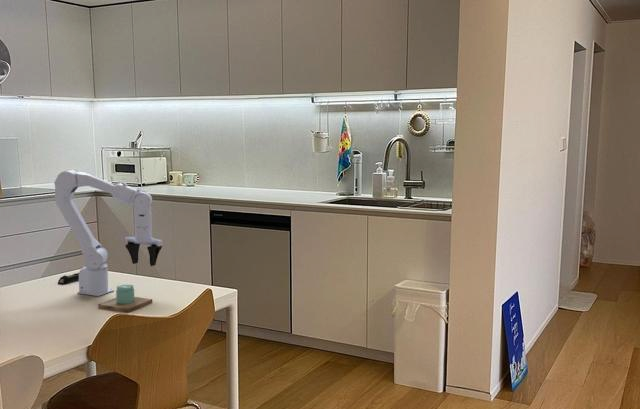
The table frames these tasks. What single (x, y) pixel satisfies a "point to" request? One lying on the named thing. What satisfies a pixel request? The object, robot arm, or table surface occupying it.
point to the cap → (125, 294)
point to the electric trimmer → (68, 278)
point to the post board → (128, 307)
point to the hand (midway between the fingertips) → (144, 264)
